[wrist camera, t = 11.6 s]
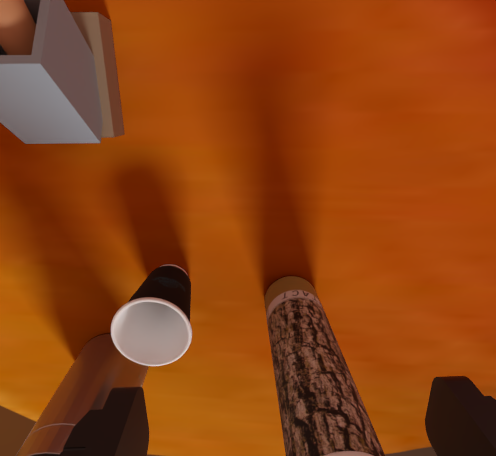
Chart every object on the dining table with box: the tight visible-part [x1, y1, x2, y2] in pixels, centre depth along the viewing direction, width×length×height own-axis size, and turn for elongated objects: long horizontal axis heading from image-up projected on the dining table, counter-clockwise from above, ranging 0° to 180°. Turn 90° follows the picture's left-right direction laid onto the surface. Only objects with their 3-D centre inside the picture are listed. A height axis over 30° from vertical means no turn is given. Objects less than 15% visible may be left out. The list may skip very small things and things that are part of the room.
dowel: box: [0, 0, 36, 55], centre depth 28 cm, size 3×3×12 cm
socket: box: [0, 0, 124, 144], centre depth 31 cm, size 12×9×14 cm
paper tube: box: [265, 276, 385, 456], centre depth 35 cm, size 7×7×25 cm
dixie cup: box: [111, 264, 192, 366], centre depth 40 cm, size 8×8×11 cm
